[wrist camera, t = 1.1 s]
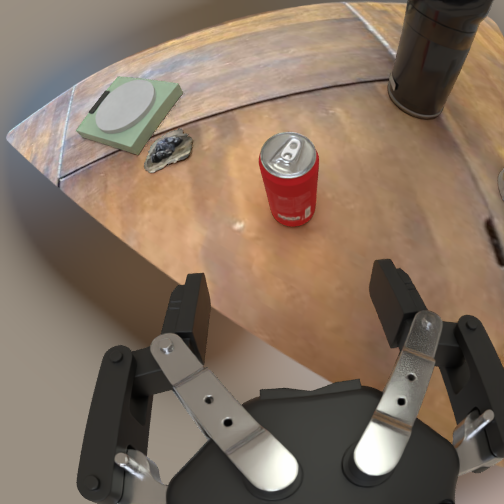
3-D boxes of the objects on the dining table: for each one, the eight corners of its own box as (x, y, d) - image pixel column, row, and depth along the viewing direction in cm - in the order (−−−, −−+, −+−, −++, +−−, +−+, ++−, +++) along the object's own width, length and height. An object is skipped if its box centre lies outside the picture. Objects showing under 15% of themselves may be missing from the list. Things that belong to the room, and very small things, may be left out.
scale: (123, 84, 48) (115, 72, 45) (183, 92, 44) (176, 79, 41) (82, 137, 46) (72, 127, 43) (138, 155, 42) (127, 143, 39)
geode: (202, 149, 40) (198, 141, 38) (156, 185, 40) (151, 179, 38) (178, 125, 42) (173, 117, 40) (136, 158, 42) (130, 152, 40)
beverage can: (263, 218, 36) (246, 166, 25) (283, 183, 37) (274, 122, 26) (303, 237, 35) (303, 190, 23) (322, 200, 36) (328, 142, 24)
